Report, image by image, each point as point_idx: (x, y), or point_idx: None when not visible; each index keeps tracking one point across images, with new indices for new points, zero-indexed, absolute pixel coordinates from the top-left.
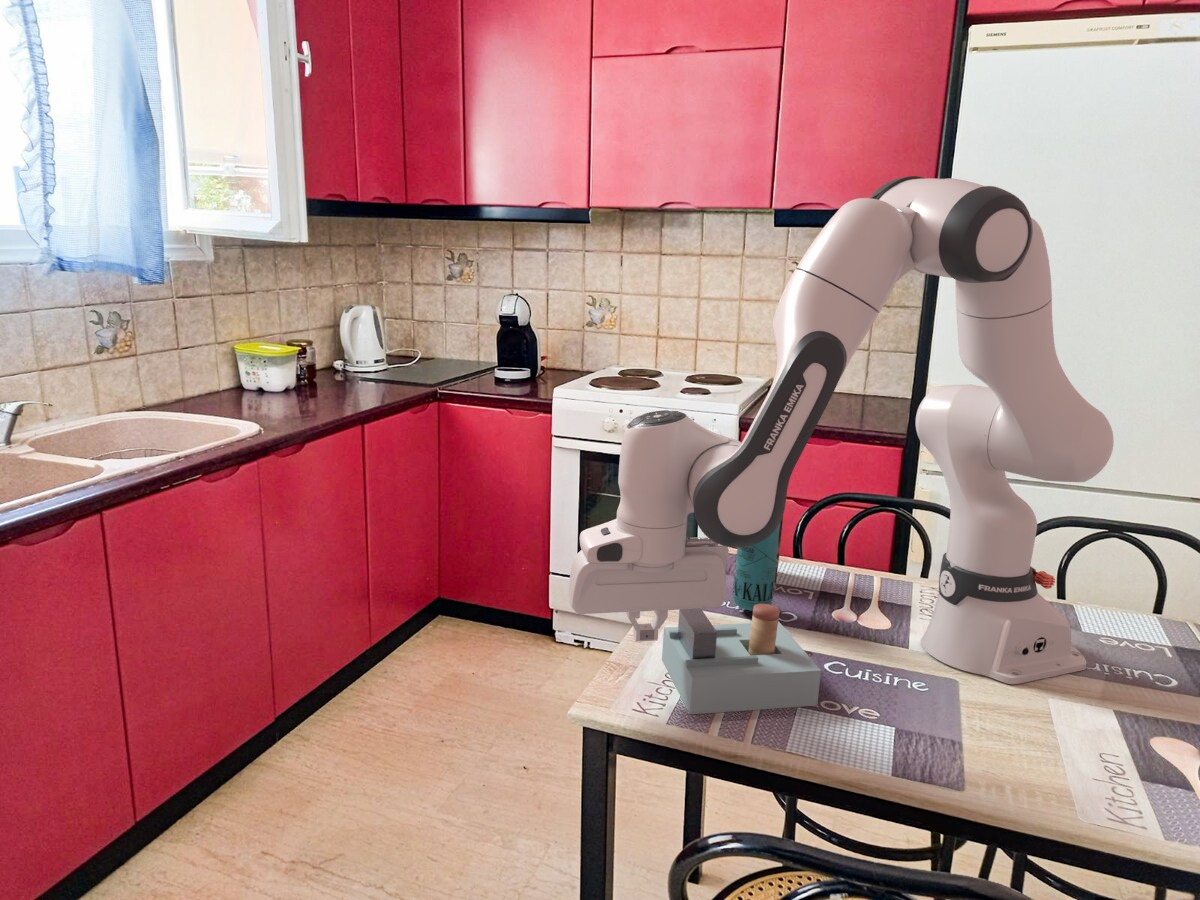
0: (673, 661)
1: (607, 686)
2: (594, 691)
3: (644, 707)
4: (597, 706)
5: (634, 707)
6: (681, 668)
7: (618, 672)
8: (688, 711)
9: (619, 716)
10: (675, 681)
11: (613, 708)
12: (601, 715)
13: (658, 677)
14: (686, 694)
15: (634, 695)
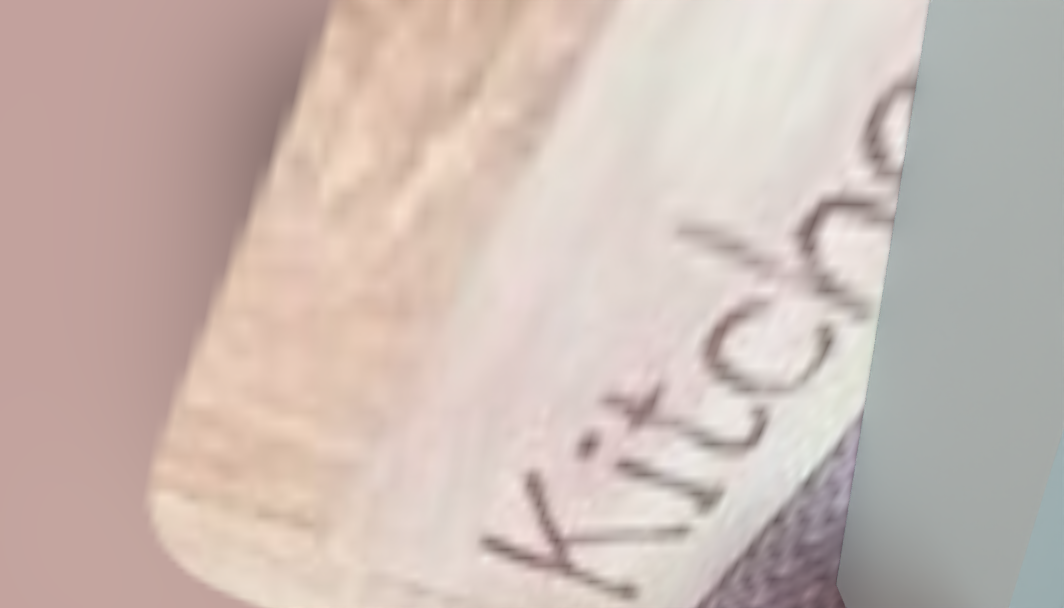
0: (977, 310)
1: (314, 289)
2: (204, 355)
3: (567, 525)
4: (238, 518)
5: (499, 525)
6: (959, 567)
7: (431, 60)
8: (839, 566)
9: (387, 602)
10: (898, 314)
11: (352, 536)
12: (269, 596)
13: (793, 159)
14: (878, 588)
15: (523, 403)
